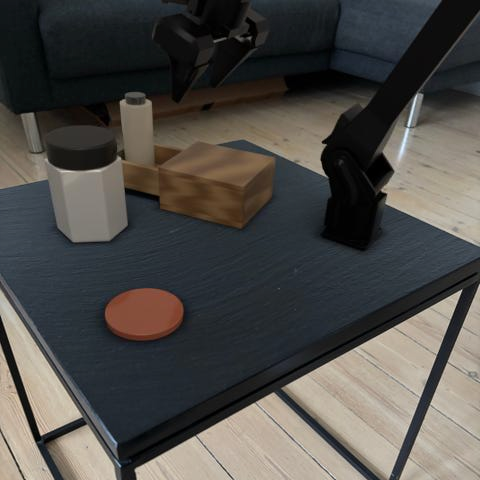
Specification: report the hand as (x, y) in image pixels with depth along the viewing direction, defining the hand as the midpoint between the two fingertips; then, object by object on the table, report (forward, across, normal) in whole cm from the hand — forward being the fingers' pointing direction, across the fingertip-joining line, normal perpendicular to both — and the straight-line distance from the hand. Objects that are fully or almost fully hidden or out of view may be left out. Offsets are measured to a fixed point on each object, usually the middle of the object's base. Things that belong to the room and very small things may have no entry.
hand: (194, 93), depth 70 cm
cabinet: (+11, +2, +10) cm, 15 cm away
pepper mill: (+14, +3, -3) cm, 15 cm away
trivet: (+8, +29, +17) cm, 34 cm away
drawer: (+14, +3, -1) cm, 15 cm away
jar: (+15, +17, +1) cm, 23 cm away
